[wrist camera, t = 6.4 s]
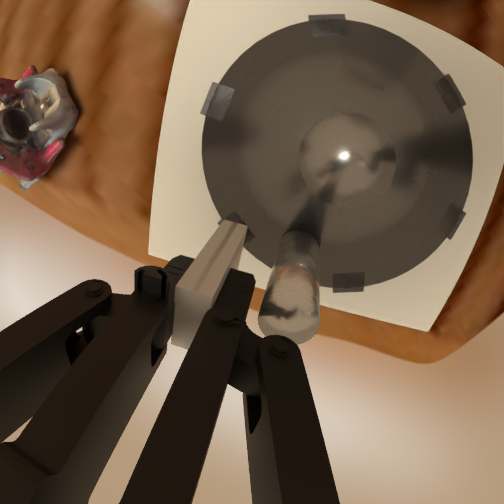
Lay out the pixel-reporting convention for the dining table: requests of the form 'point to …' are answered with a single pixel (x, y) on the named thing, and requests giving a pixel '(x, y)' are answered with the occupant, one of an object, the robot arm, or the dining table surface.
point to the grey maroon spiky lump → (34, 123)
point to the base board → (192, 122)
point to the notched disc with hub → (335, 161)
